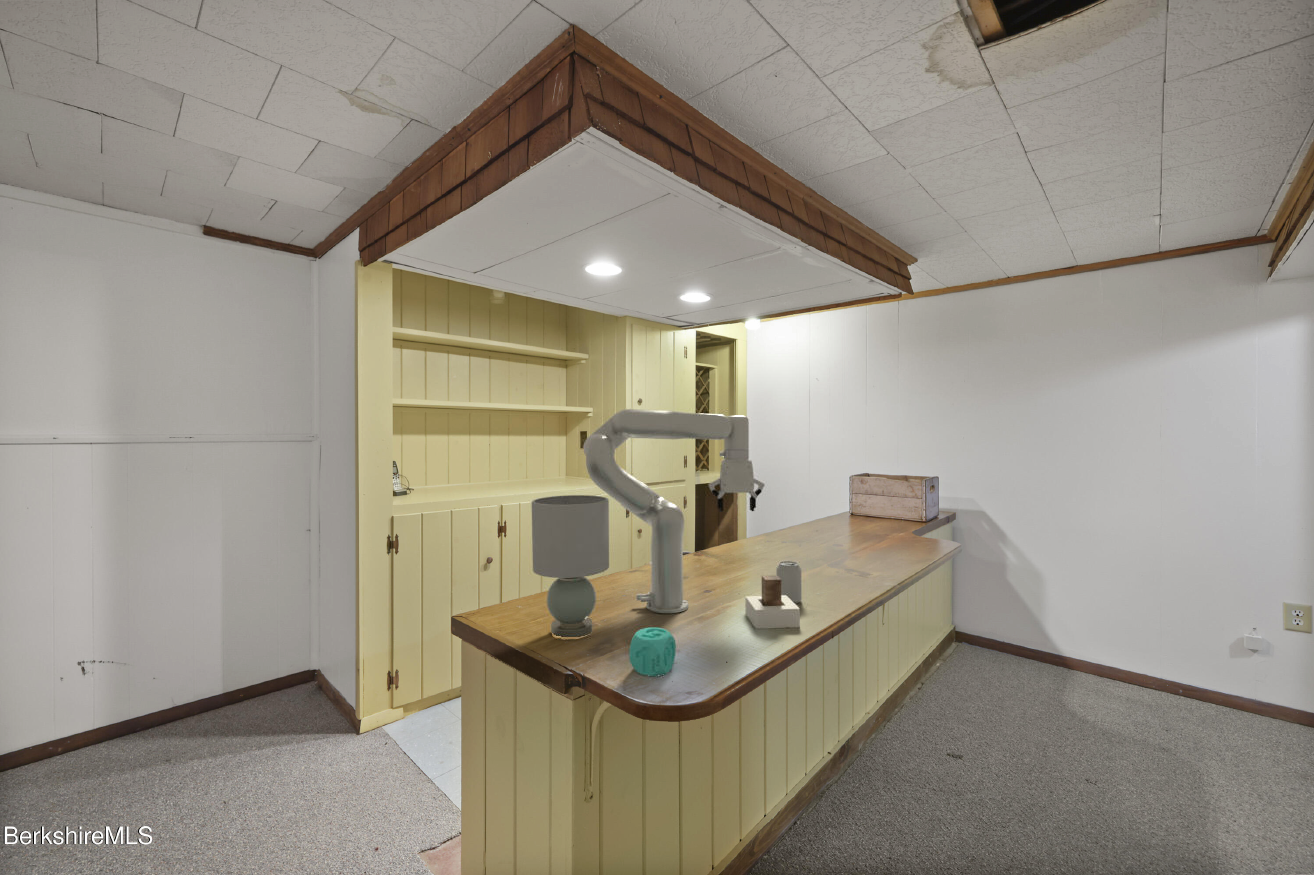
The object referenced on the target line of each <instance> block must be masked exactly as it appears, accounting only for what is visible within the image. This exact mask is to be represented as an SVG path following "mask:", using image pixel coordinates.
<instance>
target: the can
mask: <svg viewBox="0 0 1314 875" xmlns="http://www.w3.org/2000/svg"><path fill="white" fill-rule="evenodd" d="M775 570H776V573H775V575H777V576H778V577H779V578H780V579H781V595H786V596H787V597H788V598H789V599H790V600H791V601H792V602H793V603H794V604H795V605H797V604H798V603H800V602H801V601H802V599H803V598H802V567H800V563H799V562H797V561H793V560H792V561H791V560H781V561H779V562H778V565H777V566H776V569H775Z"/></svg>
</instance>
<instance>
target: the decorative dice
mask: <svg viewBox="0 0 1314 875" xmlns="http://www.w3.org/2000/svg"><path fill="white" fill-rule="evenodd" d="M676 644H677V643H676V639H675V637H674V636H673V634H672V633H671V632H670V631H669V630H668V629H665V628H662V627H645V628H641V629H639V630H638V631H636V632H635V633H634V635H633V636H632V639H631V641H630V646H629V651H628V652H629V653H628V654H629V655H628V656H629V663H630V664H631V666H632V668H633V669H634V671H635V672H637V673H638V674H639V673H640V674H639V675H641V674H643V675H642V676H644V675H649V676H648V677H652V676H653V677H659V676H658V675H661V676H664V675H666V674H668V673H669V672H670V671H671V670H672V668H673V666H674V663H675V659H676V650H677V649H676V648H677V645H676ZM663 674H664V675H663Z"/></svg>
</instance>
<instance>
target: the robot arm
mask: <svg viewBox="0 0 1314 875" xmlns="http://www.w3.org/2000/svg"><path fill="white" fill-rule="evenodd" d="M749 423H750V422H749V418H748V416H746V415H727V416H726V415H724V414H718V413H698V412H697V413H696V412H682V411H681V412H680V411H674V410H673V411H672V410H656V409H654V410H652V409H635V408H634V409H633V408H627V409H622V410H619V411H617V412H616V413H614V415H612V417H610V418H609V419H608V420H606V422H605V423H603V424H602V425H600V426H599V427H598V429H596V430H595V431H594V432H593V433H591V434H590V435H589V436H588V437H587V438H586V439H585V441H584V443H583V448H582V449H583V452H584V455H585V467H586V470H587V473H588V476H589V477H590V479H591V480H592V482H593V483H594V485H596V486H597V487H598V489H599V488H600V490H602V491H603V492H604V493H606V494H607V495H609V496H610V497H611V498H612V499H613V500H615V501H616V502H618V503H619V504H620V505H621V506H622V507H623V508H624V509H625V510H627V511H629V512H630V513H631V514H632V515H634V516H636V517H637V518H639V519H641V521H643V522H644V523H646V524H648V525H649V526H650V527H651V529H652V530H651V541H650V558H651V559H650V560H651V561H650V565H651V566H650V567H651V568H650V569H651V574H650V575H651V583H650V585H651V586H650V587H651V589H649V592H646V593H636V595H635V596H636V598H635V599H636V601H640V602H641V603H646V608H647V610H649V611H650V612H653V613H657V614H658V613H659V614H677V613H682V612H684V611H686V610H687V609H688V608H689V602H688V601H687V600H685V599H684V575H683V574H684V572H683V571H684V562H683V557H684V556H683V555H684V554H683V552H684V550H683V549H684V547H683V543H684V541H683V540H684V530H685V518H684V517H685V516H684V514H683V513H684V512H682V510H681V508H680V507H679V506H678V505H676V504H675V503H673V502H671V501H669V500H667V499H666V498H664V497H662V496H661V495H660V494H658V493H657V492H656V491H654V490H653V489H651V488H650V486H648V484H646V483H644V482H642V481H641V480H639V479H637V478H635V477H634V476H633V475H631V474H630V473H628V472H627V470H625V469H624V468H622V467H621V466H620V465H619V464H618V463H617V461H616V458H615V454H616V450H617V449H618V448H619V447H621V445H623V444H624V443H625V442H626V441H627V440H628V439H629V438H631V439H650V440H651V439H654V440H657V439H658V440H681V439H682V440H683V439H686V440H687V439H690V440H691V439H692V440H693V439H694V440H695V439H696V440H714V441H715V440H717V441H720V440H723V441H724V442H723V450H722V451H719V457H723V459H722V460H721V465H720V472H719V474H720V475H719V478H717V479H715V480H714V481H711V482H710V483H708V487H709V489H710V492H711V493H712V494H713V496H715V497H716V499H717V501H716V503H717V509H718V510H719V512H724V499H723V496H724V495H725V494H736V493H738V494H741V493H743V494H745V493H748V494H749V495H750V497H749V511H751V512H755V509H756V507H757V504H756V503H757V498H758V496H759V495H760V494H762V491H763V489H764V488H765V485H766V484H765V483H763V482H761V481H759V480H758V479H756V478H754V466H753V461H752V460H751V459H749V458H750V455H749V454H750V453H749V452H750V451H749V450H750V449H749V447H750V445H749V444H750V442H749V440H750V439H749V438H750V437H749V435H750V430H749V427H750V426H749ZM755 484H756V485H757V486H758V487H757V489H756V490H755ZM717 485H719V491H717V490H716V489H715V486H717Z"/></svg>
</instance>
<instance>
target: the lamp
mask: <svg viewBox="0 0 1314 875" xmlns="http://www.w3.org/2000/svg"><path fill="white" fill-rule="evenodd" d="M609 501H610V499H609V498H608V497H604V496H601V495H600V496H599V495H589V494H588V495H586V494H585V495H583V494H578V495H577V494H574V495H573V494H572V495H570V494H569V495H554V496H553V495H552V496H545V497H539V498H535V499H533V500H532V501H531V539H532V540H531V542H532V545H531V546H532V572H533V574H536V575H538V576H541V577H546V578H552V579H553V578H555V580H554V581H553V582H552V583H551V585H550V586H549V588H548V590H547V594H546V606H547V609H548V612H549V614H550V615H551V617H552V618H554V620H553V621H552V622H551V623H550V633H551V632H552V633H553V634H554V635H556V636H561V637H581V636H585V635H588V634H590V633H591V632H592V630H593V619H591V617H590V616H591V614H592V613H593V611H594V609H595V606H596V602H597V594H596V589H595V586H594V585H593V583H592V582H591V581H590V579H588V578H587V577H590V576H591V577H592V576H594V575H598V574H602V573H604V572H605V571H607V570H608V569H609V568H610V523H609V522H610V520H609V518H610V506H609V505H610V504H609V503H610V502H609ZM592 633H593V632H592Z"/></svg>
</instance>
